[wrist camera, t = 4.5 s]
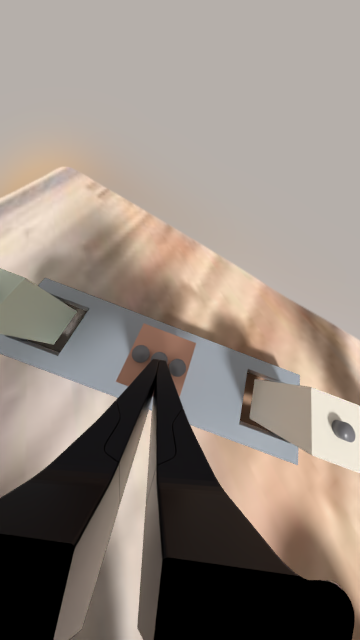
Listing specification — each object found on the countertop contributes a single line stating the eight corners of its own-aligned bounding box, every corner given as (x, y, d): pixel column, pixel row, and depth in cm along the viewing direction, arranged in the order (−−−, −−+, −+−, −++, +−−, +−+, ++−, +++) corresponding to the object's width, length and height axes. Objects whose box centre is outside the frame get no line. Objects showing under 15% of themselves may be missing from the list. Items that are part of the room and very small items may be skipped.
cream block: (286, 391, 17) (371, 408, 10) (284, 431, 16) (382, 483, 9) (254, 379, 17) (318, 388, 10) (249, 418, 16) (319, 460, 9)
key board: (282, 373, 21) (299, 375, 19) (277, 450, 18) (297, 465, 15) (59, 288, 21) (45, 277, 18) (10, 350, 17) (-17, 347, 15)
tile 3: (182, 351, 17) (197, 342, 10) (170, 388, 16) (178, 406, 9) (150, 339, 17) (142, 321, 10) (134, 375, 16) (113, 382, 9)
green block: (77, 311, 17) (19, 273, 10) (54, 344, 16) (-34, 327, 9) (43, 298, 17) (-38, 252, 10) (17, 330, 16) (-102, 301, 8)
